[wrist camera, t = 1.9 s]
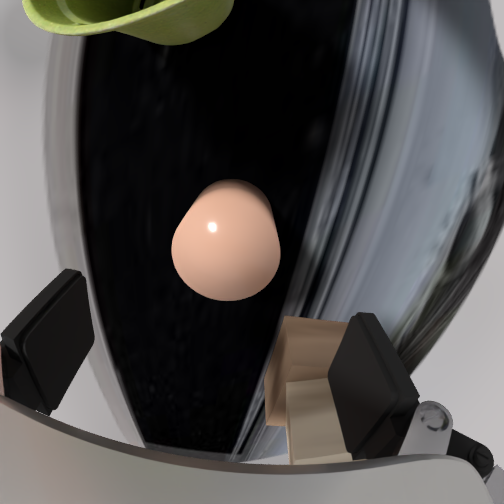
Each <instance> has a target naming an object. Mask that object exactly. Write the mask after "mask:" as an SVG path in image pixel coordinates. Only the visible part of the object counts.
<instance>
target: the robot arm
mask: <svg viewBox="0 0 504 504" xmlns="http://www.w3.org/2000/svg"><path fill="white" fill-rule="evenodd" d="M1 337H2V341H1V342H0V504H504V470H503V469H501V468H500V467H499V466H498V465H496V466H494V460H493V455H492V454H491V452H490V450H489V449H488V448H487V447H486V446H484V445H483V444H481V443H479V442H477V441H475V440H473V439H471V438H469V437H467V436H465V435H463V434H461V433H459V432H457V431H455V430H454V429H452V427H453V419H452V416H451V414H450V412H449V411H448V410H447V409H446V408H445V407H444V406H443V405H441V404H440V403H437V402H434V401H425V402H422V403H421V404H420V403H419V401H418V398H419V397H420V395H419V394H418V392H417V389H416V387H415V386H414V384H413V382H412V380H411V378H410V376H409V374H408V372H407V370H406V369H405V367H404V365H403V363H402V361H401V360H400V358H399V356H398V354H397V352H396V351H395V349H394V347H393V345H392V343H391V342H390V340H389V338H388V336H387V335H386V333H385V331H384V330H383V328H382V326H381V324H380V323H379V321H378V319H377V318H376V316H375V315H374V314H373V313H363V312H358V313H357V314H356V315H355V316H352V317H351V319H350V321H349V324H348V326H347V329H346V331H345V333H344V336H343V338H342V341H341V343H340V345H339V348H338V350H337V352H336V354H335V357H334V359H333V361H332V363H331V366H330V368H329V370H328V382H329V385H330V389H331V393H332V396H333V400H334V404H335V408H336V412H337V415H338V419H339V423H340V427H341V431H342V435H343V439H344V443H345V447H346V450H347V452H348V453H351V456H352V460H353V461H351V462H339V463H326V464H306V465H266V464H265V465H264V464H246V463H233V462H222V461H213V460H205V459H198V458H191V457H185V456H179V455H174V454H169V453H164V452H159V451H154V450H150V449H145V448H141V447H137V446H133V445H129V444H126V443H122V442H118V441H115V440H112V439H108V438H105V437H102V436H99V435H95V434H93V433H90V432H87V431H84V430H81V429H78V428H76V427H73V426H70V425H68V424H65V423H63V422H60V421H58V420H55V419H53V418H51V417H48V416H50V414H51V412H52V410H56V409H57V408H58V406H59V404H60V402H61V400H62V398H63V396H64V394H65V393H66V391H67V389H68V387H69V386H70V384H71V382H72V380H73V378H74V376H75V375H76V373H77V371H78V369H79V368H80V366H81V364H82V363H83V361H84V359H85V357H86V356H87V354H88V352H89V351H90V349H91V347H92V346H93V344H94V339H95V336H94V330H93V325H92V319H91V313H90V306H89V300H88V292H87V284H86V278H85V277H84V276H82V273H81V272H80V271H77V270H72V269H65V270H63V271H62V272H61V273H60V274H59V275H58V276H57V277H56V278H55V279H54V280H53V281H52V282H51V283H49V284H48V285H47V286H46V287H45V288H44V289H43V290H42V291H41V292H40V293H39V294H38V295H37V296H36V297H35V298H34V299H33V300H32V301H31V302H30V303H29V304H28V305H27V306H26V307H25V308H24V309H23V310H22V312H20V314H19V315H17V317H16V318H15V319H14V320H13V321H12V322H11V323H10V324H9V325H8V326H7V327H6V329H5V330H4V331H3V332H2V333H1ZM36 410H37V411H38V412H37V411H36ZM39 412H41V413H43V414H41V413H39ZM44 414H45V415H44ZM46 415H47V416H46ZM362 459H367V460H362ZM354 460H361V461H354ZM493 466H494V467H493Z"/></svg>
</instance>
